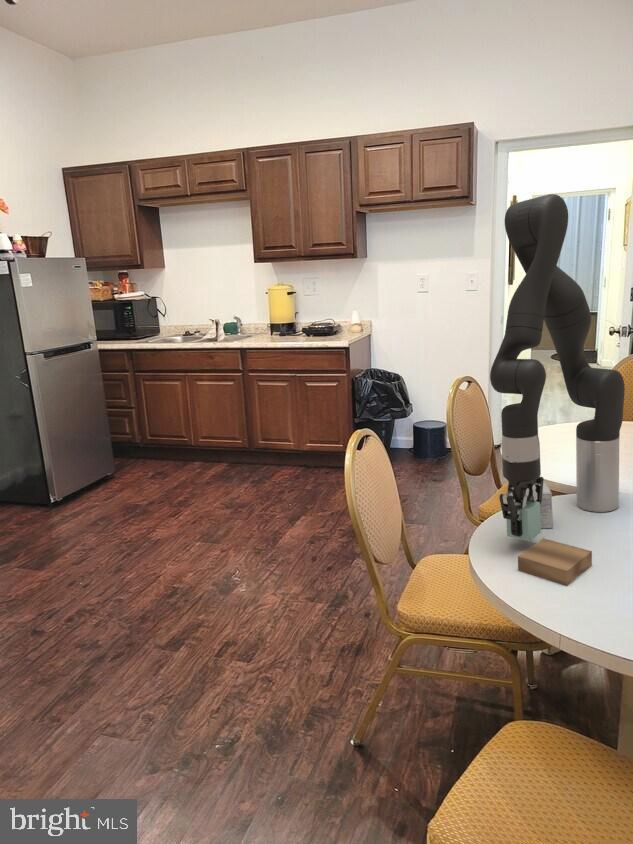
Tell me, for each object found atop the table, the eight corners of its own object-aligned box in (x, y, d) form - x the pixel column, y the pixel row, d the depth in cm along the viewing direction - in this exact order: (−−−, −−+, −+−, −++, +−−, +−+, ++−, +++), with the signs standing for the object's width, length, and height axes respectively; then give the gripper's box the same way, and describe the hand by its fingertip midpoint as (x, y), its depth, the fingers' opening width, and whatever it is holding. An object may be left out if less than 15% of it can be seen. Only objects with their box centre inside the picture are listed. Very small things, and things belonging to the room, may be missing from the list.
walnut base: (543, 551, 127) (543, 538, 126) (591, 565, 119) (591, 551, 118) (518, 570, 120) (517, 556, 120) (567, 585, 113) (566, 571, 112)
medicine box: (553, 529, 136) (552, 492, 134) (532, 529, 137) (531, 493, 135) (547, 515, 144) (546, 480, 142) (527, 515, 145) (526, 481, 143)
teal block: (519, 527, 133) (518, 497, 131) (540, 532, 129) (539, 502, 128) (507, 535, 130) (505, 505, 128) (528, 541, 126) (527, 510, 125)
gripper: (522, 442, 133) (525, 515, 137) (485, 462, 124) (489, 538, 128) (555, 447, 127) (557, 522, 131) (519, 467, 118) (522, 547, 122)
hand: (523, 530), depth 129 cm, fingers closed on teal block, 5 cm apart
